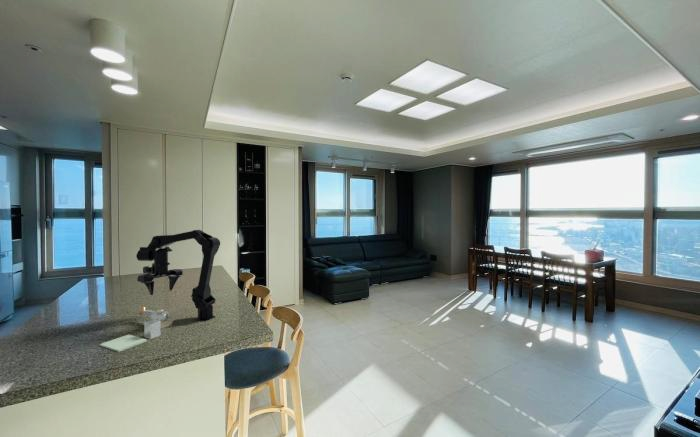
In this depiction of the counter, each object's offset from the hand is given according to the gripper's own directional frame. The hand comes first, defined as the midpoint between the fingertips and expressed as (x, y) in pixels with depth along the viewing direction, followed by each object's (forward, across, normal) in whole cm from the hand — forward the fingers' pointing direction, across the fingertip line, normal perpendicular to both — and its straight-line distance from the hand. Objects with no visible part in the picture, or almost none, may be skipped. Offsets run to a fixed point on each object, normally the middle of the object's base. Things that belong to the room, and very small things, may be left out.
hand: (161, 292), depth 143 cm
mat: (+12, +25, +16) cm, 32 cm away
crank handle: (+10, +7, +5) cm, 13 cm away
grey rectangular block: (+12, +16, +19) cm, 27 cm away
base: (+12, +7, +10) cm, 17 cm away
